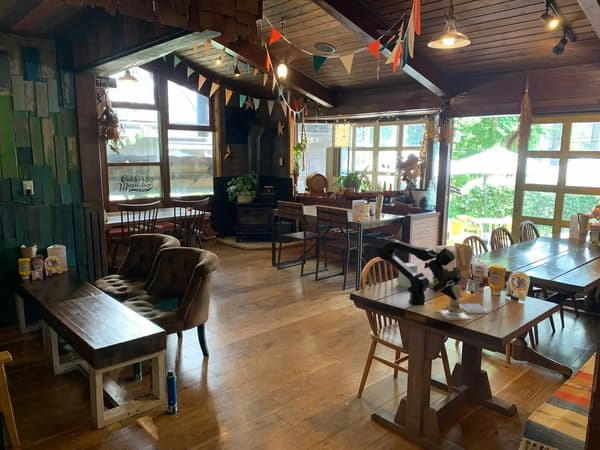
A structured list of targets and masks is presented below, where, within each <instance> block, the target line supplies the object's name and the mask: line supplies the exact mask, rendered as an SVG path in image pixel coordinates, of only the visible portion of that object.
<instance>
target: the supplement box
mask: <svg viewBox="0 0 600 450" xmlns="http://www.w3.org/2000/svg"><path fill="white" fill-rule="evenodd" d="M404 263H405V264H406V265H407V266H408V267H409V268H410V269H411V270H413V271H414V272H415V273H417V274H418V265H417V264H414V263H410V262H404ZM397 281H398V282H397V283H398V284H397V285H398V286H401V287H402V288H406V289H408V288H409V287H410V286H412V285H411V284H410V281H409V279H408V278H406V277H405V276H404V275H403V274H402V273H401V272H400V271H399V270H398V278H397Z"/></svg>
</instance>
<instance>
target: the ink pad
mask: <svg viewBox="0 0 600 450" xmlns="http://www.w3.org/2000/svg"><path fill="white" fill-rule="evenodd" d="M460 305H461V307H462V308H463V312H465V313H466V314H488V310H487V309H486V308H484V307H482V306H481V304H478V303H460Z"/></svg>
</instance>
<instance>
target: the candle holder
mask: <svg viewBox="0 0 600 450" xmlns="http://www.w3.org/2000/svg"><path fill="white" fill-rule="evenodd" d="M434 251H435V252H438V253H440V252H441V251H439V250H438V251H437V250H434ZM431 275H432V278H431V279H432V281H431V282H429V283H430V285H429V287H428V289H429V288H430V289H432V290H433V286H435V285H436V284H438V283H439V281H438V280H437V278H434V276H435V275H434V274H433V273H432V272H431Z"/></svg>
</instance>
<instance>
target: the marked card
mask: <svg viewBox="0 0 600 450" xmlns="http://www.w3.org/2000/svg"><path fill="white" fill-rule="evenodd" d="M437 312H439V313H440V314H441V315H442V316H443V317H444V318H445V319H447V320H473V318H472V317H471V316H470V315H468V313H466V312H465V311H464V310H463V311H462V313H449V311H448V310H447V309H437Z"/></svg>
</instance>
